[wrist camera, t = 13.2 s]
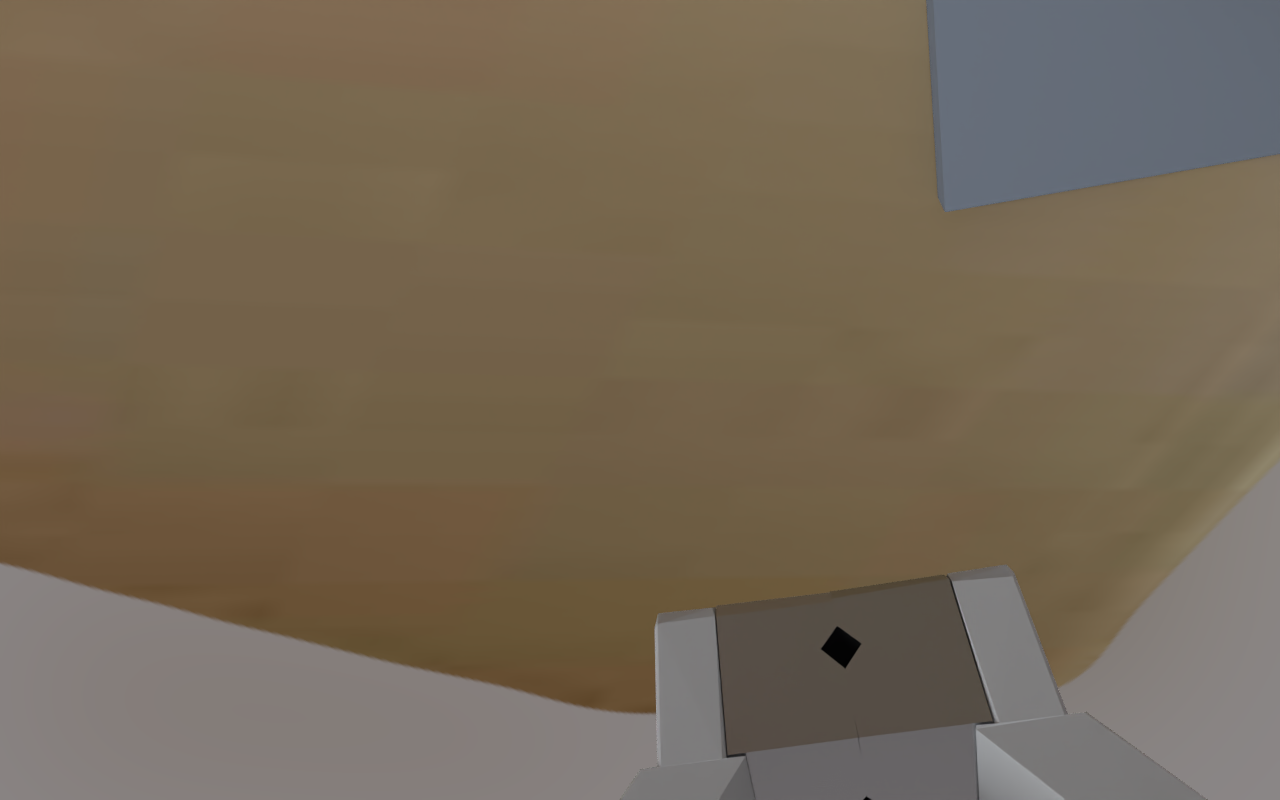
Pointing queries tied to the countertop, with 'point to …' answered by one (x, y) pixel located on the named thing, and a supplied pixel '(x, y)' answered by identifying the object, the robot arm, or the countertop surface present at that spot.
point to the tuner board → (1096, 91)
